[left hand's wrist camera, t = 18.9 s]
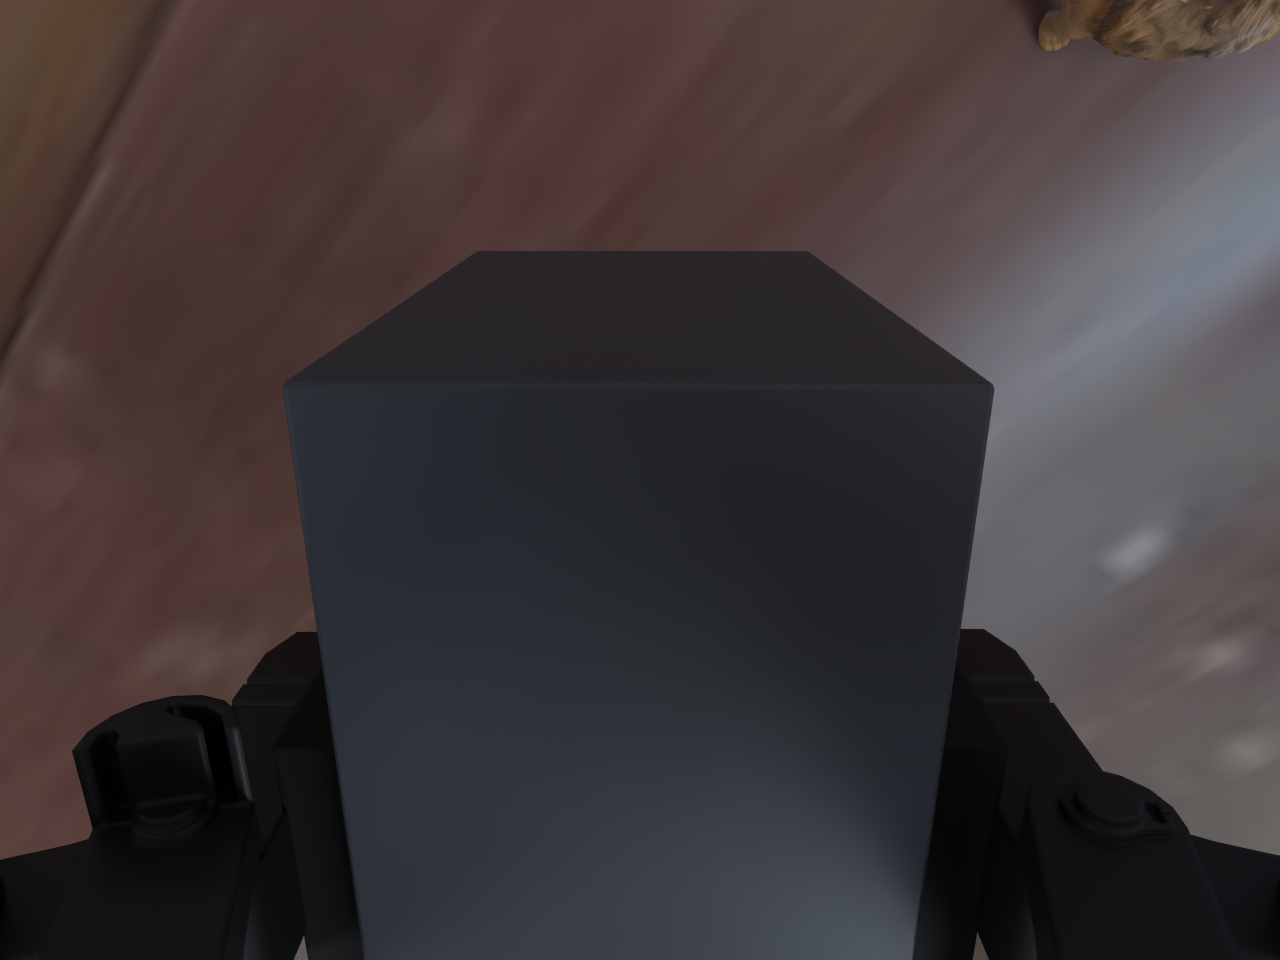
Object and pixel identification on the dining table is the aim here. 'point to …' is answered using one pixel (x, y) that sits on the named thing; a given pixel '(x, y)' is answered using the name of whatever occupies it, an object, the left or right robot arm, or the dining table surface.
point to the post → (638, 606)
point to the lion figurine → (1163, 26)
